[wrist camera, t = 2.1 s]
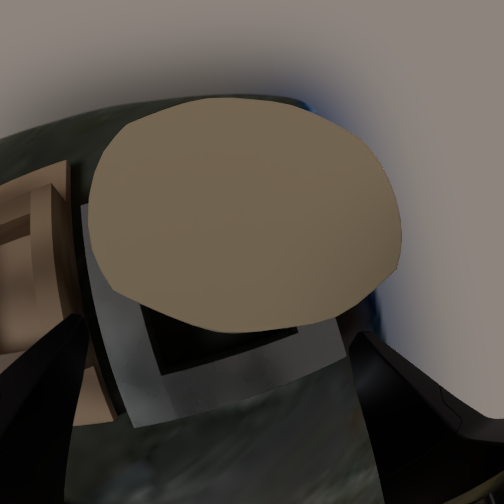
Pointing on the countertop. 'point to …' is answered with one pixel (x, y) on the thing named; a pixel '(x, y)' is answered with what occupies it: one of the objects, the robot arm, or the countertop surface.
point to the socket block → (199, 370)
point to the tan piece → (43, 276)
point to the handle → (242, 215)
